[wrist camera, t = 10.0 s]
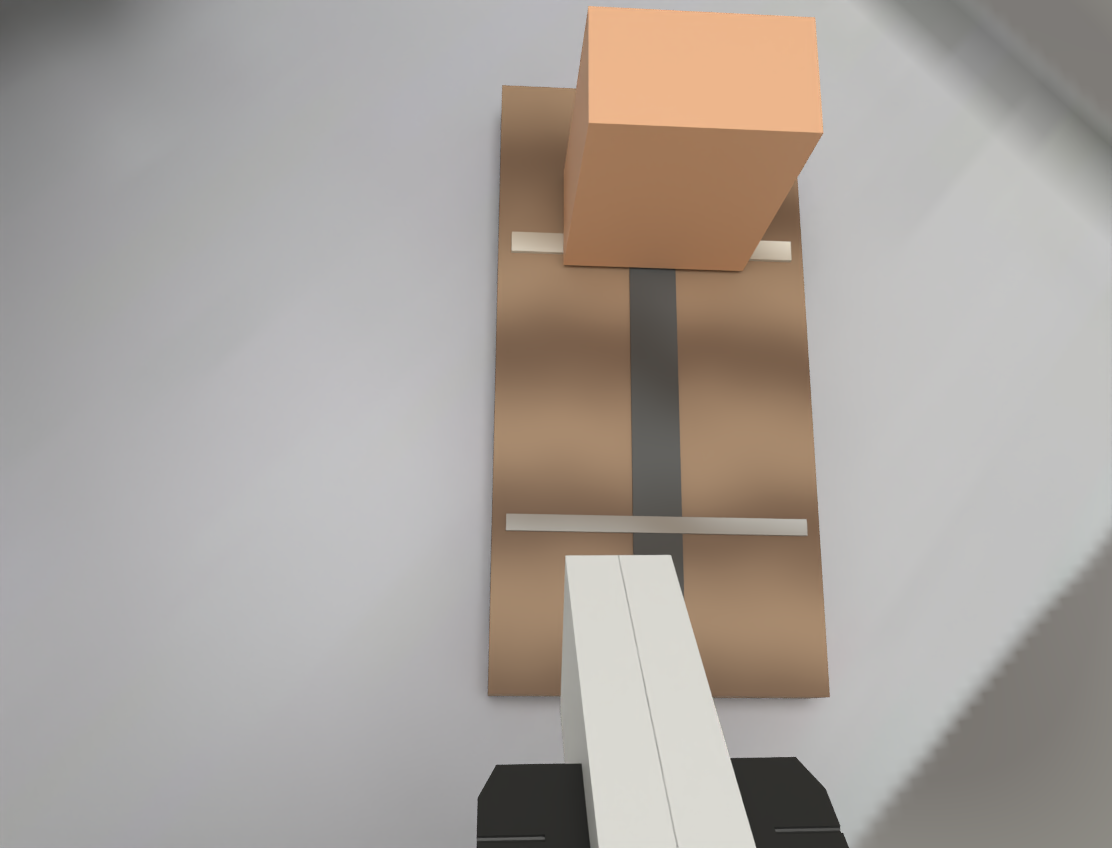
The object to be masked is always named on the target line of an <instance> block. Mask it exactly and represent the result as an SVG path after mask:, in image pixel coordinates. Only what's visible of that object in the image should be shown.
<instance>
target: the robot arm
mask: <svg viewBox="0 0 1112 848" xmlns="http://www.w3.org/2000/svg"><path fill="white" fill-rule="evenodd" d="M560 714H561V726H562V738H563V750H564V762H565V764H514V765H496V766H495V768H494V770H493V772H492V774H491V775H490V777H489V779H488V781H487V782H486V784H485V786H484V788H483V789H482V791H481V793H480V795H479V797H478V809H477V848H849V847H848V844H847V842H846V839H845V837H844V834H843V833H841V832H840V824H839V822H838V819H837V817H836V814H835V812H834V809H833V806H832V804H831V801H830V799H829V796H828V794H827V791H826V789H825V788H824V787H823V786H822V785H821V783H820V782H819V781H818V780H817V779H816V778H815V777H814V776H813V775H812V774H811V773H810V772H809V771H808V770H807V769H806V768H805V767H804V766H803V764H802V763H801V762H800V761H799V760H798V759H797V758H796V757H772V758H730V756H729V753H728V749H727V746H726V742H725V739H724V736H723V732H722V729H721V725H720V722H719V718H718V715H717V712H716V708H715V705H714V701H713V698H712V694H711V691H710V688H709V684H708V681H707V677H706V674H705V670H704V667H703V664H702V660H701V657H700V653H699V650H698V646H697V643H696V639H695V636H694V633H693V629H692V626H691V622H690V619H689V615H688V612H687V609H686V605H685V602H684V598H683V595H682V591H681V588H680V585H679V581H678V578H677V574H676V571H675V567H674V564H673V561H672V557H671V555H568V556H565V583H564V613H563V642H562V672H561V702H560Z"/></svg>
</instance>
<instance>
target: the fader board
mask: <svg viewBox="0 0 1112 848" xmlns="http://www.w3.org/2000/svg"><path fill="white" fill-rule="evenodd" d="M575 93H576V89H572V88H550V87H528V86H506V85H502V115H501V156H500V198H499V241H498V283H497V326H496V369H495V411H494V454H493V496H492V539H491V582H490V624H489V667H488V696H561V672H562V642H563V613H564V583H565V556H568V555H671V557H672V561H673V564H674V567H675V571H676V574H677V578H678V581H679V585H680V588H681V591H682V595H683V598H684V602H685V605H686V609H687V612H688V615H689V619H690V622H691V626H692V629H693V633H694V636H695V639H696V643H697V646H698V650H699V653H700V657H701V660H702V664H703V667H704V670H705V674H706V677H707V681H708V684H709V688H710V691H711V694H712V698H823V697H830V693H829V677H828V661H827V645H826V629H825V613H824V597H823V581H822V565H821V549H820V533H819V517H818V501H817V485H816V469H815V453H814V437H813V421H812V405H811V389H810V373H809V357H808V341H807V325H806V309H805V293H804V277H803V261H802V245H801V229H800V213H799V197H798V181H797V179H796V181H795V182H794V184H793V186H792V187H791V189H790V191H789V193H788V194H787V196H786V198H785V199H784V201H783V203H782V205H781V206H780V208H779V210H778V211H777V213H776V215H775V217H774V218H773V220H772V222H771V223H770V225H769V227H768V229H767V230H766V232H765V234H764V235H763V237H762V239H761V241H760V242H759V244H758V246H757V247H756V249H755V251H754V253H753V254H752V256H751V258H750V259H749V261H748V263H747V265H746V266H745V268H744V270H743V271H725V270H696V269H667V268H638V267H609V266H579V265H563V239H564V167H565V161H566V154H567V147H568V140H569V134H570V127H571V120H572V114H573V107H574V100H575Z"/></svg>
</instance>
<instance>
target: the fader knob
mask: <svg viewBox="0 0 1112 848" xmlns="http://www.w3.org/2000/svg"><path fill="white" fill-rule="evenodd" d="M822 134H823V122H822V108H821V94H820V80H819V66H818V52H817V38H816V23H815V18H814V17H794V16H774V15H754V14H734V13H714V12H694V11H674V10H654V9H634V8H614V7H594V6H588V13H587V20H586V26H585V33H584V40H583V46H582V53H581V60H580V67H579V73H578V80H577V87H576V93H575V100H574V107H573V114H572V120H571V127H570V134H569V140H568V147H567V154H566V161H565V167H564V239H563V265H579V266H609V267H638V268H667V269H696V270H725V271H743V270H744V268H745V266H746V265H747V263H748V261H749V259H750V258H751V256H752V254H753V253H754V251H755V249H756V247H757V246H758V244H759V242H760V241H761V239H762V237H763V235H764V234H765V232H766V230H767V229H768V227H769V225H770V223H771V222H772V220H773V218H774V217H775V215H776V213H777V211H778V210H779V208H780V206H781V205H782V203H783V201H784V199H785V198H786V196H787V194H788V193H789V191H790V189H791V187H792V186H793V184H794V182H795V181H796V179H797V177H798V175H799V174H800V172H801V170H802V169H803V167H804V165H805V163H806V162H807V160H808V158H809V157H810V155H811V153H812V151H813V150H814V148H815V146H816V144H817V143H818V141H819V139H820V138H821V136H822Z"/></svg>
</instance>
